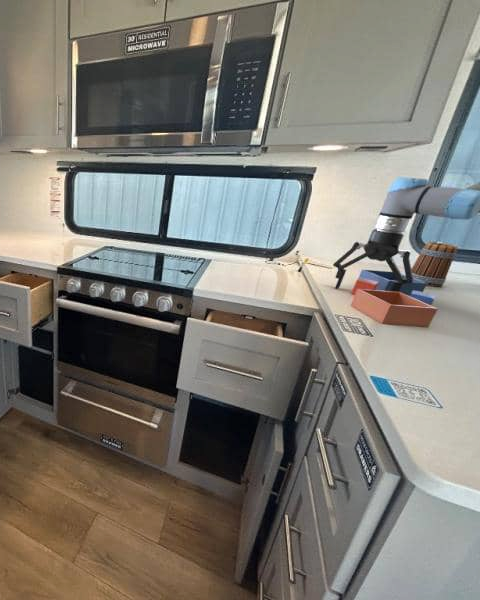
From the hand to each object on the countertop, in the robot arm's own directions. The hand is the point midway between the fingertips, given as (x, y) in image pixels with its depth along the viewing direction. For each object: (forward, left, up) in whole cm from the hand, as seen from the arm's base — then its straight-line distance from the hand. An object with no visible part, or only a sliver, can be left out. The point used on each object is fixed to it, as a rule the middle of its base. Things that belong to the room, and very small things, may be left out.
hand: (361, 294), depth 110 cm
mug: (+23, -40, 0) cm, 46 cm away
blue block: (-10, -9, 0) cm, 14 cm away
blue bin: (+6, -13, 0) cm, 15 cm away
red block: (0, 0, 0) cm, 0 cm away
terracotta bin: (-17, +5, 0) cm, 18 cm away
